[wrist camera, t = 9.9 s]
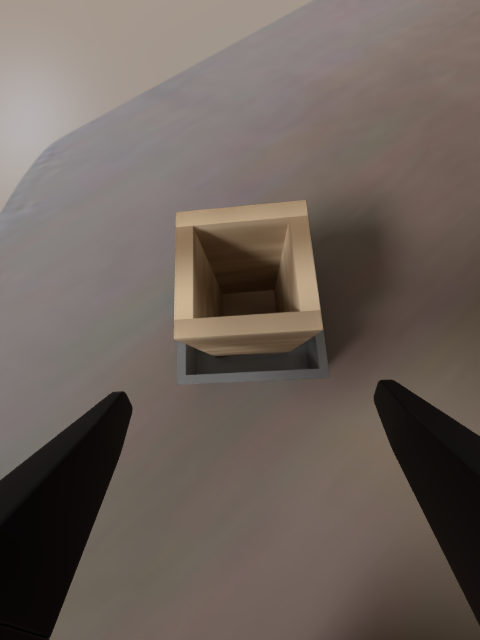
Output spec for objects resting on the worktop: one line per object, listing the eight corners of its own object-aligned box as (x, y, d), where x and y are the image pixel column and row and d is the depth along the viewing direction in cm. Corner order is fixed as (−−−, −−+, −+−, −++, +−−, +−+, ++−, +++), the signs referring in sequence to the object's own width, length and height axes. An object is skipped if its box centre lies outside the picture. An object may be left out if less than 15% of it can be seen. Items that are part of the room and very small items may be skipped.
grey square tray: (315, 377, 19) (329, 377, 15) (192, 382, 20) (176, 384, 16) (301, 263, 21) (311, 238, 18) (193, 271, 22) (179, 249, 18)
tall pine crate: (289, 353, 19) (323, 329, 9) (216, 357, 19) (173, 338, 9) (282, 284, 20) (305, 200, 11) (214, 289, 21) (176, 212, 11)
